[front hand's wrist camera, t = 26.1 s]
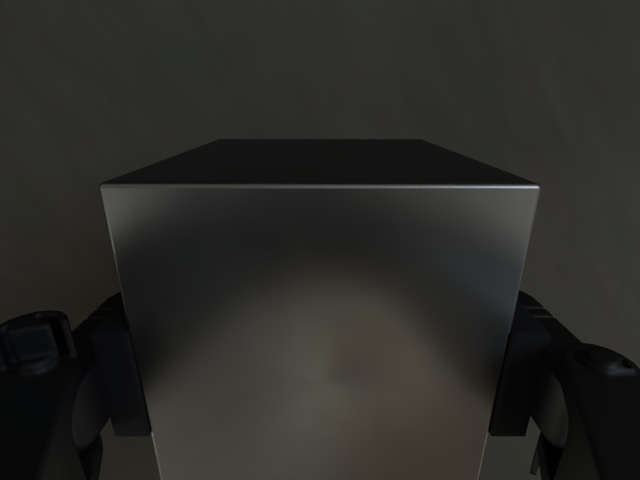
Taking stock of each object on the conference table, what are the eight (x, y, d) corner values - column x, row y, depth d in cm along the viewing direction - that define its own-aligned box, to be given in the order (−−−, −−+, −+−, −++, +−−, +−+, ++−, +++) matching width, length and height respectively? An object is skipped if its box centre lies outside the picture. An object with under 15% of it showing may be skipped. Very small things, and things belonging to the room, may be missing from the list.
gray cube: (217, 138, 14) (95, 183, 6) (422, 139, 14) (544, 184, 6) (235, 330, 17) (166, 516, 9) (404, 331, 17) (472, 517, 9)
